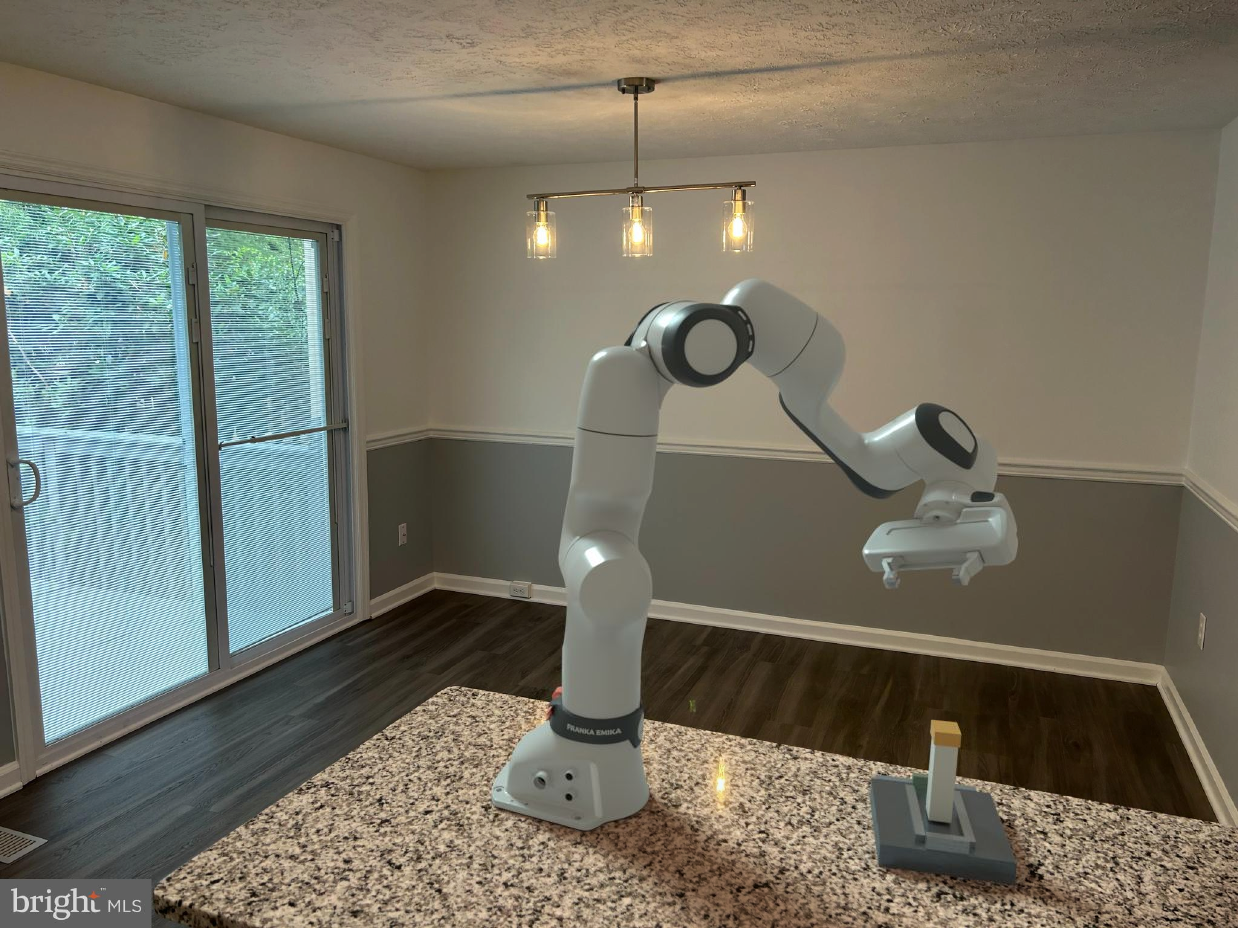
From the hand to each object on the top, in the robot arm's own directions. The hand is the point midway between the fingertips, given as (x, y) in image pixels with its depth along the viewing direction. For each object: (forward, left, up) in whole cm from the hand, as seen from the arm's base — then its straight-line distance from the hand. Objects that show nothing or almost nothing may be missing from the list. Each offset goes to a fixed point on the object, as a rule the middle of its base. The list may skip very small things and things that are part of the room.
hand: (923, 583), depth 114 cm
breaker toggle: (+4, -4, -30) cm, 31 cm away
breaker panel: (+4, -4, -34) cm, 34 cm away
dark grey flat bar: (+4, +7, -34) cm, 35 cm away
